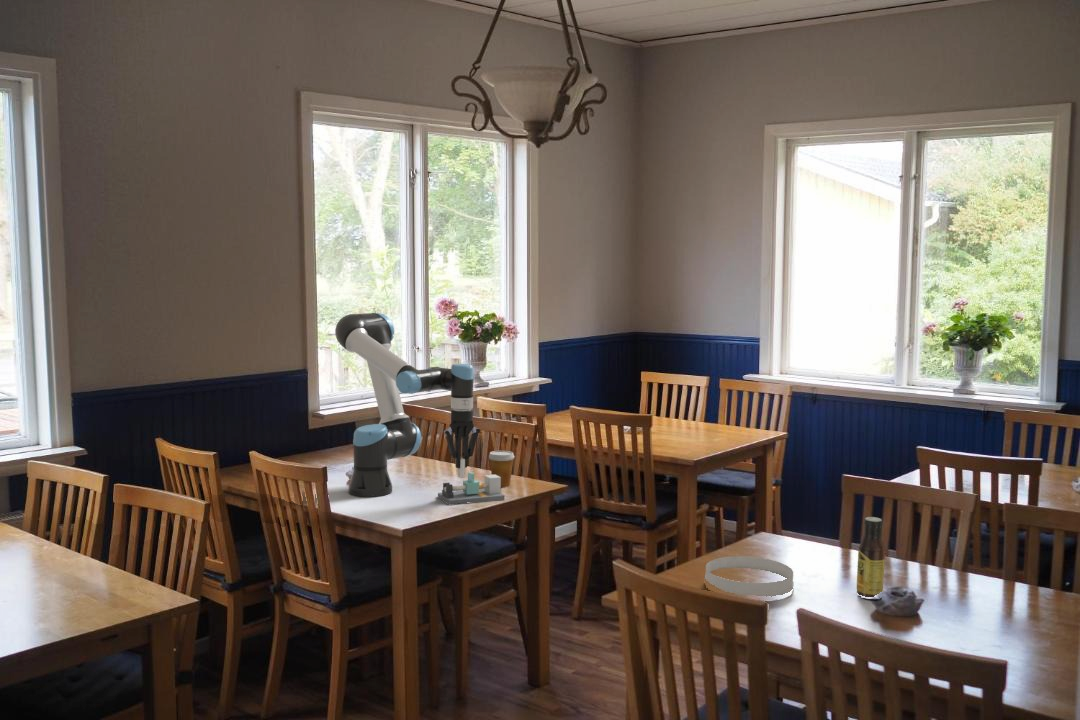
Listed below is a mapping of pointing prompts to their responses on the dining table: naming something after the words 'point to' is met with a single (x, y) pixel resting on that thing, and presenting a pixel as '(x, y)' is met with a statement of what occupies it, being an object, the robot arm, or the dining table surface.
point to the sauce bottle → (871, 559)
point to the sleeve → (471, 485)
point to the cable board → (487, 494)
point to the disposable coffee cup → (502, 465)
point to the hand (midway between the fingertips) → (461, 477)
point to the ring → (747, 587)
